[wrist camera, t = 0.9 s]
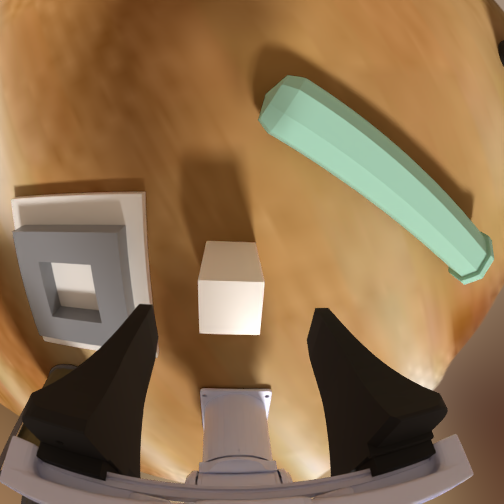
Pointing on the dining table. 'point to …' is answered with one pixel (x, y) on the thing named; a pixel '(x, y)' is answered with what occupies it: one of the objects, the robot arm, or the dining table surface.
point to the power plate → (93, 213)
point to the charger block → (230, 289)
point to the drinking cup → (501, 51)
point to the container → (375, 172)
